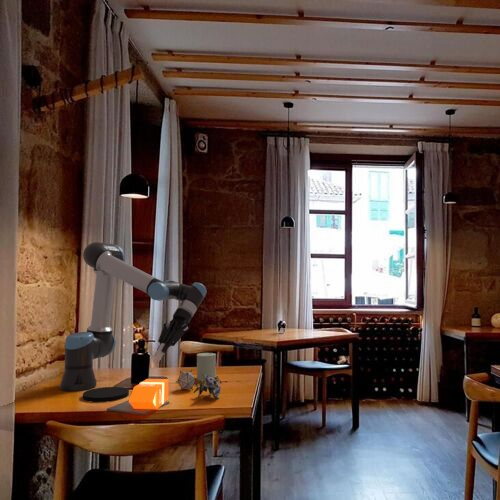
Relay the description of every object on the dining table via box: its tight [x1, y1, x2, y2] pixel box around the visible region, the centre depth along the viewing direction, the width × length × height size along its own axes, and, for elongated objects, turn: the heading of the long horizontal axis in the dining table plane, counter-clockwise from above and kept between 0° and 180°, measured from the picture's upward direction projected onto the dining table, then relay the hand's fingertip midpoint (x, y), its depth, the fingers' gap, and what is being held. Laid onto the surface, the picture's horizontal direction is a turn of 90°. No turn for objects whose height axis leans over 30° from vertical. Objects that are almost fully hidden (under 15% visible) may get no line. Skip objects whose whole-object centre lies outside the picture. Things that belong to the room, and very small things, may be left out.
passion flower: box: [193, 373, 223, 400], centre depth 177 cm, size 11×11×12 cm
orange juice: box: [128, 378, 169, 410], centre depth 164 cm, size 8×9×20 cm
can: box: [196, 352, 217, 382], centre depth 212 cm, size 9×9×12 cm
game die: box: [175, 369, 197, 392], centre depth 191 cm, size 9×8×10 cm
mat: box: [106, 399, 170, 416], centre depth 165 cm, size 16×16×1 cm
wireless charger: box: [82, 386, 130, 403], centre depth 181 cm, size 18×18×2 cm
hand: (156, 358), depth 177 cm, fingers closed
